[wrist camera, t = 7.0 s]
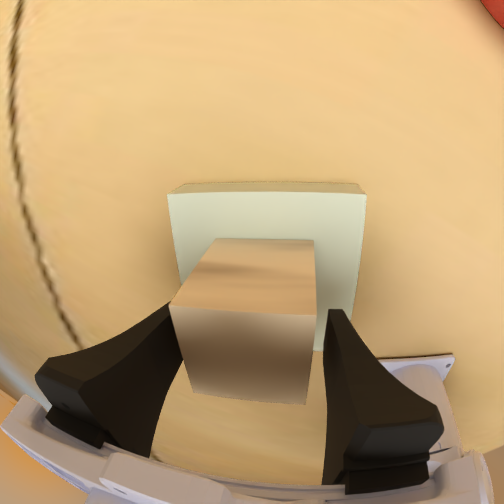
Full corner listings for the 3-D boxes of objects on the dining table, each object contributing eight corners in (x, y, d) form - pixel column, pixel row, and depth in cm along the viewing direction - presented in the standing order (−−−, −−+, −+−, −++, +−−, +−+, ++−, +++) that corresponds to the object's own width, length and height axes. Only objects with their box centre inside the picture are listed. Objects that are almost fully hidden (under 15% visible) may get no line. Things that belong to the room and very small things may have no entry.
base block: (340, 322, 20) (344, 351, 17) (205, 315, 21) (193, 341, 19) (355, 182, 15) (366, 194, 13) (187, 182, 17) (167, 194, 14)
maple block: (308, 320, 16) (305, 404, 11) (225, 315, 17) (193, 392, 12) (313, 240, 14) (316, 314, 9) (215, 238, 15) (168, 305, 10)
